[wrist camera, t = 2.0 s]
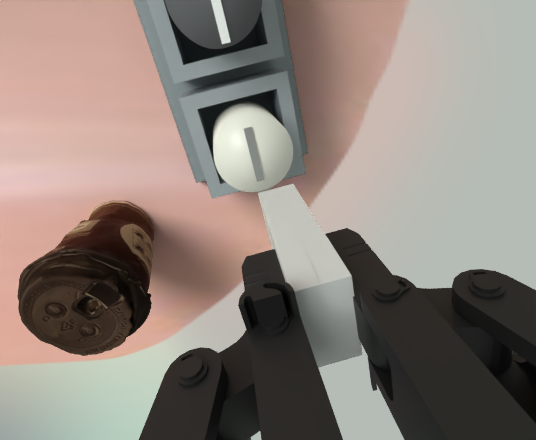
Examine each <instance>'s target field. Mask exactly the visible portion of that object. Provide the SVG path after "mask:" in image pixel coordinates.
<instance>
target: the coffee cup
mask: <svg viewBox="0 0 536 440" xmlns="http://www.w3.org/2000/svg"><path fill="white" fill-rule="evenodd" d="M153 238H154V229H153V226H152V223H151V221H150V220H149V218H148V217H147V216H146V214H145V213H144V212H143V211H142V210H141V209H140V208H138V207H136V206H134V205H132V204H130V203H129V202H126V201H118V202H117V201H110V202H108V203H102V204H101V205H99V206H98V207H96V208H95V209H94V210H93V212H92V213H91V215H90V218H89V220H88V221H85V220H84V221H82V222H80V224H79V225H78V226H77V227H76V228H74V229H73V230H72V231H70V232H69V233H68V234H66V235H65V237H64V238H63V240H62V241H61V243H60V244H59V245H58V246H57V247H56V248H55V249H54V250H52V251H50V252H49V253H47V254H46V255H44V256H43V257H41V258H39V259H38V260H36V261H34V262H33V263H31V264H30V265H28V266H27V267H26V268H25V269H24V270H23V272H22V273H21V275H20V279H19V289H18V300H19V313H20V316H21V320H22V322H23V324H24V325H25V326H26V327H27V328H28V330H29V331H30V332H32V333H33V334H34V335H35V336H36V337H37V338H38V339H39V340H41V341H43V342H45V343H48V344H51V345H53V346H55V347H58V348H60V349H61V350H64V351H66V352H68V353H74V354H79V355H83V356H86V355H92V354H98V353H103V352H104V351H108V350H112V349H113V348H115V347H118V346H119V345H121V344H122V343H123V342H125V339H126V337H128V336H130V335H131V334H133V333H134V332H135V331H136V330H137V329H138V328H140V327H141V325H142V324H143V323H144V322H145V320H146V319H147V317H148V315H149V313H150V309H151V304H152V303H151V301H150V297H151V294H148V293H147V292H148V289H149V283H150V275H151V266H152V257H153V244H152V241H153Z"/></svg>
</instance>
